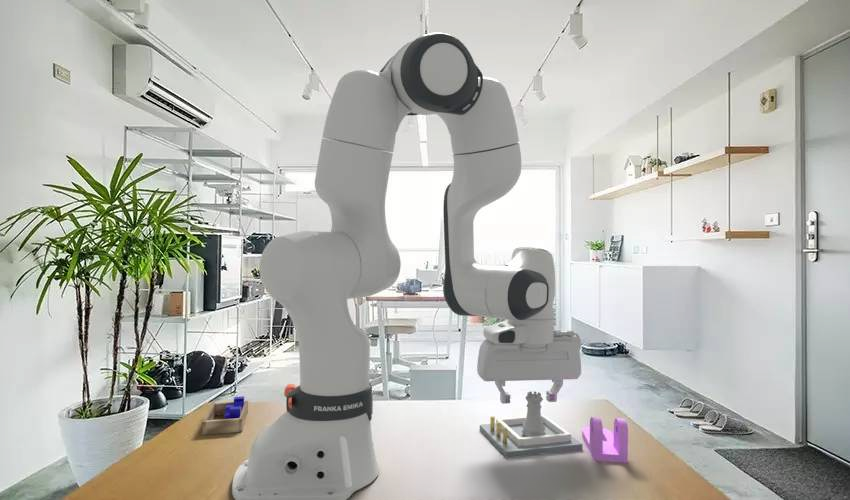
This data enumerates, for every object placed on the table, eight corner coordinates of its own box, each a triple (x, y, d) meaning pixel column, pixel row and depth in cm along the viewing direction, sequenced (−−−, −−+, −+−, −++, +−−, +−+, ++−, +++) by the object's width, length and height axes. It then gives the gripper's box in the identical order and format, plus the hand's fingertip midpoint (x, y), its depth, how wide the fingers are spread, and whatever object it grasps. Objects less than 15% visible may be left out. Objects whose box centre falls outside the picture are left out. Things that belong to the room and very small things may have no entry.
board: (506, 457, 85) (506, 437, 85) (479, 429, 98) (479, 412, 98) (582, 449, 89) (582, 430, 89) (547, 423, 102) (547, 406, 101)
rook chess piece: (526, 428, 96) (527, 388, 96) (548, 433, 93) (549, 392, 93) (518, 436, 92) (518, 394, 92) (541, 441, 90) (541, 398, 90)
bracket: (627, 463, 84) (628, 423, 84) (594, 461, 85) (594, 421, 84) (608, 433, 97) (609, 399, 97) (579, 432, 97) (580, 397, 97)
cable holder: (227, 415, 105) (227, 397, 104) (244, 414, 105) (244, 396, 105) (221, 430, 97) (221, 409, 97) (240, 428, 98) (240, 408, 98)
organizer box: (202, 434, 94) (202, 422, 94) (212, 414, 105) (212, 403, 105) (242, 431, 96) (242, 418, 96) (248, 412, 106) (248, 400, 106)
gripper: (573, 327, 99) (571, 395, 100) (475, 328, 96) (474, 398, 96) (588, 333, 93) (586, 405, 93) (484, 334, 90) (482, 409, 90)
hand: (528, 401), depth 95 cm, fingers open, 8 cm apart
